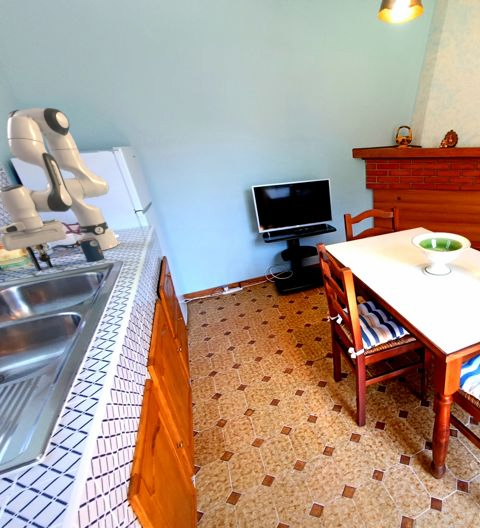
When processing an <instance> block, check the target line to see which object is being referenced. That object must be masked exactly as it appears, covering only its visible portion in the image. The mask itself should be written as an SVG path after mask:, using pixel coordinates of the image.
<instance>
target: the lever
mask: <svg viewBox="0 0 480 528" xmlns="http://www.w3.org/2000/svg"><path fill="white" fill-rule="evenodd" d="M35 246H36V248H35V249H37V250H40V249H39V246H38V245H35ZM32 250H33V249H32ZM33 252H36V251H35V250H33ZM49 260H50V261H51V256H50V255H49V254H47V255H46V254H42V255H39V257H38V261H40V262H41V263H46V262H48V261H49Z"/></svg>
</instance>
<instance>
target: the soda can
mask: <svg viewBox="0 0 480 528" xmlns="http://www.w3.org/2000/svg"><path fill="white" fill-rule="evenodd" d="M80 245H81V248H82V250H83V252H82V253H83V255H84V257H85V260H86V262H87V263H95V262H99V261H102V260H104V259H105V258H106V257H105V255H104V253H103V250H101V247H100V245H99V242H98V240H96V239H95V238H86V239H83V240H81V243H80Z"/></svg>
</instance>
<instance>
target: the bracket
mask: <svg viewBox="0 0 480 528" xmlns="http://www.w3.org/2000/svg"><path fill="white" fill-rule="evenodd" d="M38 246H39V249H40V250H43V246H42V244H40V245H38ZM24 249H25V251H27V253H28V256H29V257H30V259H31V261H32V264H33V265H34V267H35V269H36V270H37V271H38V272H40V271H43V269H42V267H41V265H40V262H39V260H38V258H37V257H36V254H35V252H34V251H33V250H32V248H31V247H26V248H24ZM46 255H48V252H47V253H46ZM45 264H46V266H47V267H48V268H50V269H51V268H54V265H53V264H52V262H51V259H50V260H49V261H48V262H45Z"/></svg>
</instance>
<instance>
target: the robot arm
mask: <svg viewBox="0 0 480 528" xmlns="http://www.w3.org/2000/svg"><path fill="white" fill-rule="evenodd" d="M6 120H7V122H6V123H7V124H6V137H7V143H8V149H9V151H10V153H11V154H12V156H14V157H15V159H18V160H19V161H21V162H24V163H26V164H30V165H33V166H37V167H39V168H41V169H42V170H43V172H44V175H45V178H46V180H47V183H46V185H45V189H41V190H34V189H29V188H27V187H25V186H24V185H23V184H10V185H5V186H3V187H1V188H0V200H1V202H2V203H1V204H3V207H4V209H5V210H6V211H7V212H8V214H9V219H10V222H8V223H6V224H3V225H1V226H0V243H1V246H2V248H3V249H4V250H5V251H8V252H11V251H16V250H21V249H25V248H26V247H31V248H32V249H33V250H35V251H34V252H36V254H37V256H40V255H42V254H46V253H47V254H48V251H47V248H48V244H49V243H53V242H57V241H61V240H66V239H67V238H68V234H67V233H66V231H65V230H64V228H63V226H64V225H63V222H62V221H61V220H58V219H51V220H43V219H42V218H41V216H40V213H52V212H53V213H54V212H55V213H66V212H68V211H69V210H71V211H72V212H73V214H74V215H75V218H76V220H77V222H78V224H79V226H78V227H79V230H80V233H81V234H80V238H79V239H77V240H76V241H75V243H72V244H71V246H68V245H65V244H57V245H54V248H57V247H63V248H65V249H72V248H74V247H75V246H77V247H78V250H80V252H82V253H83V250H82V248H81V245H80V243H81V240H83V239H86V238H95V239H96V240H98V242H99V245H100V247H101V250H102V251H105V250H110V249H112V248H116V247H117V246H118V245H120V244H122V242H121V241H120V240H118V239H117V238H118V237H119V235H118V234H115V233H114V231H113V230H112V229H109V224H108V223H107V221H106V220H105V218H104V215H103V212H102V210H101V208H99V206H96V205H93V204H88V203H86V202H85V201H84V200H85V199H92V198H98V197H101V196H105V195H107V194H108V193H109V190H110V186H109V183H108V181H107V180H105V178H103V177H101V176H99V175H96V174H95V173H93V172H92V171H91V170H90V169H89V168H88V167H87V165H86V164H85V162H84V160H83V158H82V156H81V154H80V151H79V149H78V146H77V144H76V142H75V140H74V138H73V136H72V134H71V132H70V131H69V130H70V121H69V119H68V117H67V116H66V114H65V113H63V112H62V111H61V110H60V109H57V108H51V107H46V108H42V107H32V108H26V109H25V108H24V109H16V110H12V111H9V112H8V114H7V117H6ZM44 138H45V140H44ZM45 142H46V146H47V148H46V147H45ZM47 149H48V151H47ZM61 170H62V171H66V172H67V173H71V174H73V176H74V177H70V178H64V177H63V174H62V171H61ZM40 244H42V246H43V250H37V249H35V248H36V246H35V245H40Z"/></svg>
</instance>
